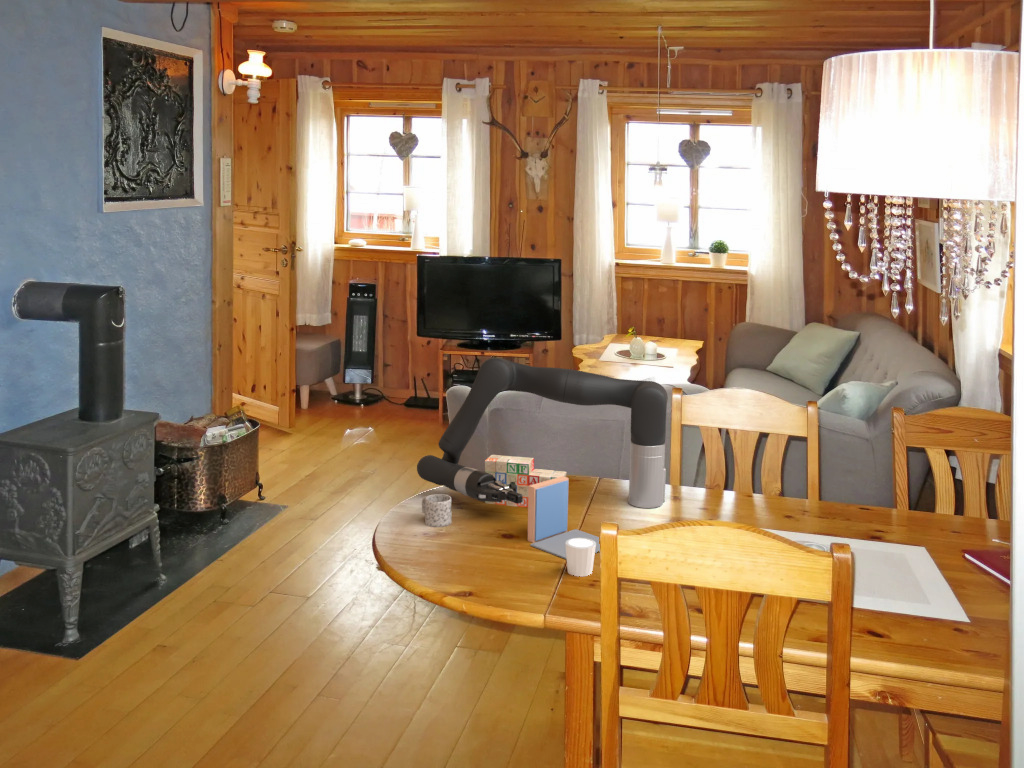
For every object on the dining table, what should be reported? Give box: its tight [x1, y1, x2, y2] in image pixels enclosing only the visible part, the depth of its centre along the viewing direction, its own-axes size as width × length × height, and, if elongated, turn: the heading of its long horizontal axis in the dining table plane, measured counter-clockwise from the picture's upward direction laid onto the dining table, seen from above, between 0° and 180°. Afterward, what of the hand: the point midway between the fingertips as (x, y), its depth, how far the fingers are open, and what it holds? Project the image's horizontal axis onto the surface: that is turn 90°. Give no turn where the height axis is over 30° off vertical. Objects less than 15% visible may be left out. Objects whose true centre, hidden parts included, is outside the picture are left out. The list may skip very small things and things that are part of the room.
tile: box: [527, 476, 570, 544], centre depth 254 cm, size 12×2×14 cm, turn 133°
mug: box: [421, 493, 452, 528], centre depth 265 cm, size 10×7×7 cm
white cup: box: [566, 538, 596, 578], centre depth 233 cm, size 7×7×7 cm
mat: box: [530, 528, 601, 561], centre depth 249 cm, size 16×14×1 cm
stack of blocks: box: [484, 454, 567, 508], centre depth 279 cm, size 21×6×12 cm, turn 74°
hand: (520, 499), depth 261 cm, fingers closed
